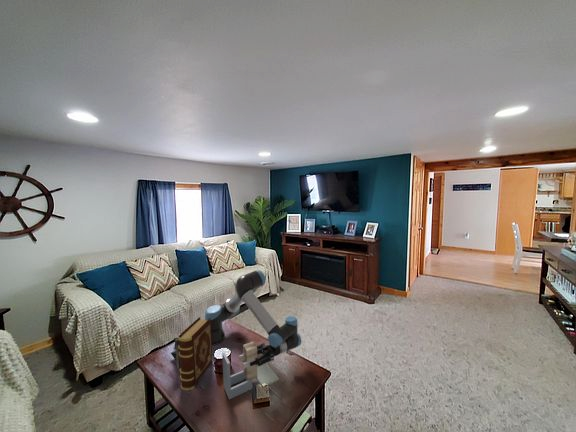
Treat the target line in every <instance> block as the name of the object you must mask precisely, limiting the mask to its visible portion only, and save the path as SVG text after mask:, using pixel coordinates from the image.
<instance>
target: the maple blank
mask: <svg viewBox="0 0 576 432" xmlns="http://www.w3.org/2000/svg"><path fill="white" fill-rule="evenodd" d="M257 346H258V345H256V343H255V342H254V341H251V342H247V343H245V344H243V345H242V354H243V360H242V362H243V363H245V362H247V361H250V360H252V359H255V360H256V358H258V354H257ZM242 365H243V370H244V376H245V378H246V379H245V381H247V380H249V379H252V380H254V379H257V377H258V370H257V367H258V365H256V364H255V365H253V366H249V367H247V368H244V364H242Z"/></svg>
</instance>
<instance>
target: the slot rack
mask: <svg viewBox="0 0 576 432" xmlns="http://www.w3.org/2000/svg"><path fill="white" fill-rule="evenodd" d="M221 354H222V357H221V358H222V376H223V377H222V378H223V380H222V381H223V389H224V391H225V394H226V396H227V398H228V400H231V399H233V398H236V397H238V396H240V395H242V394H244V393H246V392H249V391H250V390H253V379H249V380H246V378H245V376H244V369H243V370H240V371H239V372H236V373H234V374H231V362H230V360H229V359H228V357H227V355H226V353H225V352H222V353H221ZM244 380H245V381H244ZM242 381H243V382H242ZM237 383H238V384H237ZM235 384H236V385H235Z"/></svg>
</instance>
